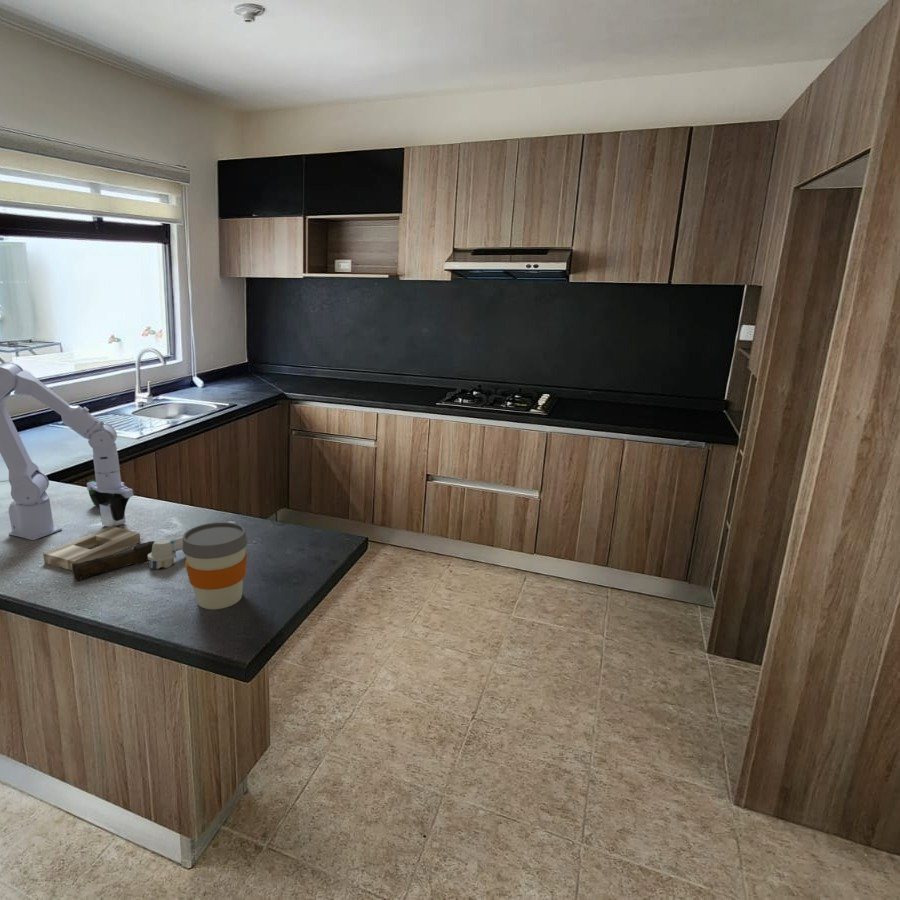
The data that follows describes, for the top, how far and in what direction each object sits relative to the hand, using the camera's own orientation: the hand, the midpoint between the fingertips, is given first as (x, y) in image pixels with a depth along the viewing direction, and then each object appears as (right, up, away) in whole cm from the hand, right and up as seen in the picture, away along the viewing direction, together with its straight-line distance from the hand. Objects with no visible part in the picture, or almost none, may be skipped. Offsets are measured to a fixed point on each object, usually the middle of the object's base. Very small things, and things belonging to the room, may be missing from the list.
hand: (113, 518), depth 162 cm
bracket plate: (+4, -6, -16) cm, 17 cm away
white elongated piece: (+28, -7, -13) cm, 31 cm away
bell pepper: (-10, +2, +15) cm, 18 cm away
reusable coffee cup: (+42, -13, -35) cm, 56 cm away
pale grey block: (0, -2, 0) cm, 2 cm away
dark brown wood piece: (+14, -9, -22) cm, 28 cm away
